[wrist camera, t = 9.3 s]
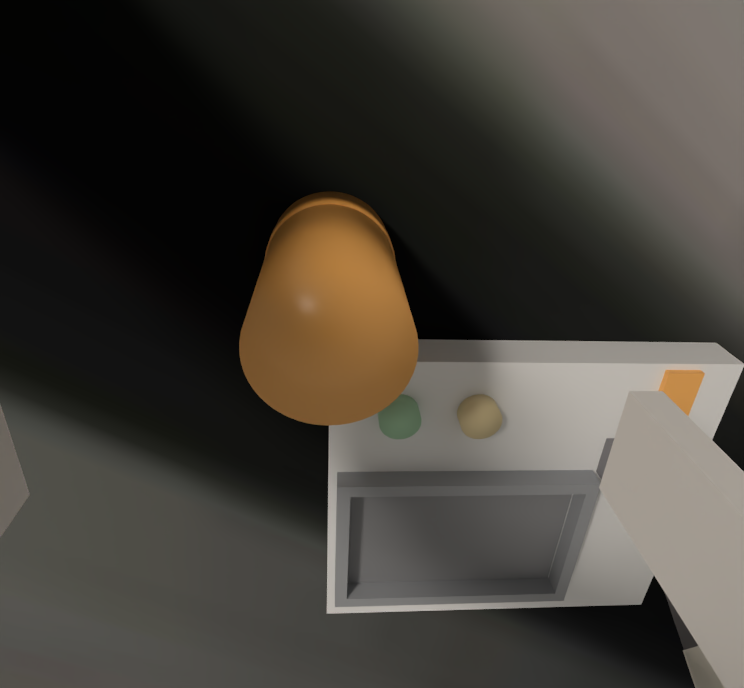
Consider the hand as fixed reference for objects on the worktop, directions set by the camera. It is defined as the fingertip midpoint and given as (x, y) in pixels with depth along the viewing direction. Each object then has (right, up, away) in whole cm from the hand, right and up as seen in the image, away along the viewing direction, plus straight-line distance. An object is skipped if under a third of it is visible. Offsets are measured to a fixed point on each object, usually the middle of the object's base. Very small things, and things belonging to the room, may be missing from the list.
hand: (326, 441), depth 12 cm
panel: (+8, -5, +17) cm, 19 cm away
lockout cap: (-1, +6, +10) cm, 12 cm away
